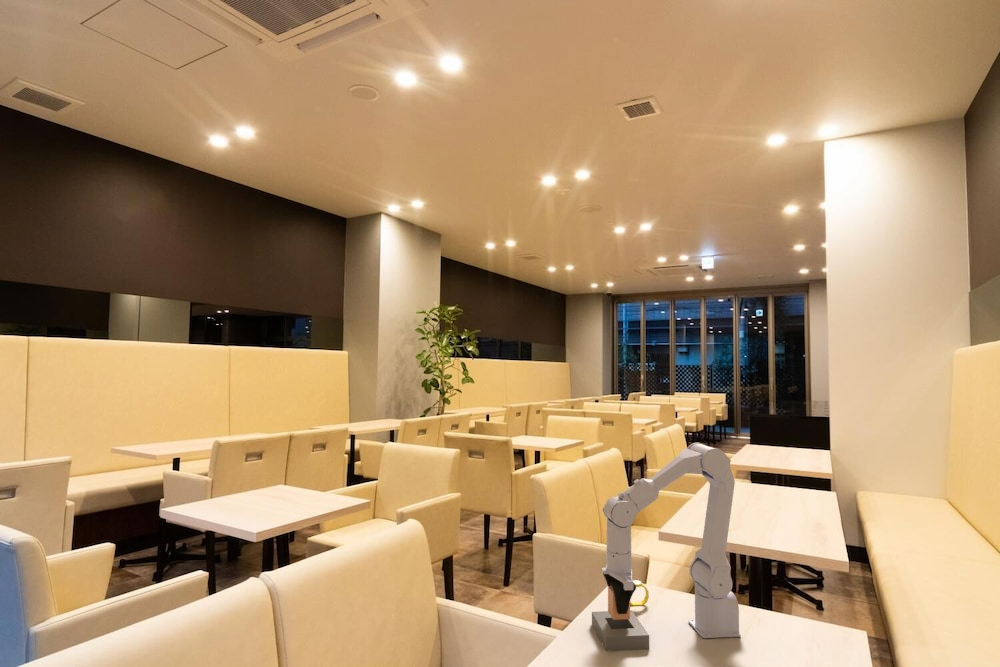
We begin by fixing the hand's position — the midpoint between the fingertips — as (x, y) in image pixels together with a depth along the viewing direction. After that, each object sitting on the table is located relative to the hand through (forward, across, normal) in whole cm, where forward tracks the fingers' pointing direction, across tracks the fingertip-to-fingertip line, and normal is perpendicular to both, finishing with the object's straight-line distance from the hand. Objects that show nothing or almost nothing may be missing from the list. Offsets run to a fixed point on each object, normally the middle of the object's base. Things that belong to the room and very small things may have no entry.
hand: (619, 608), depth 127 cm
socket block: (+6, 0, 0) cm, 6 cm away
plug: (+2, 0, 0) cm, 2 cm away
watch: (+6, -16, +10) cm, 19 cm away
